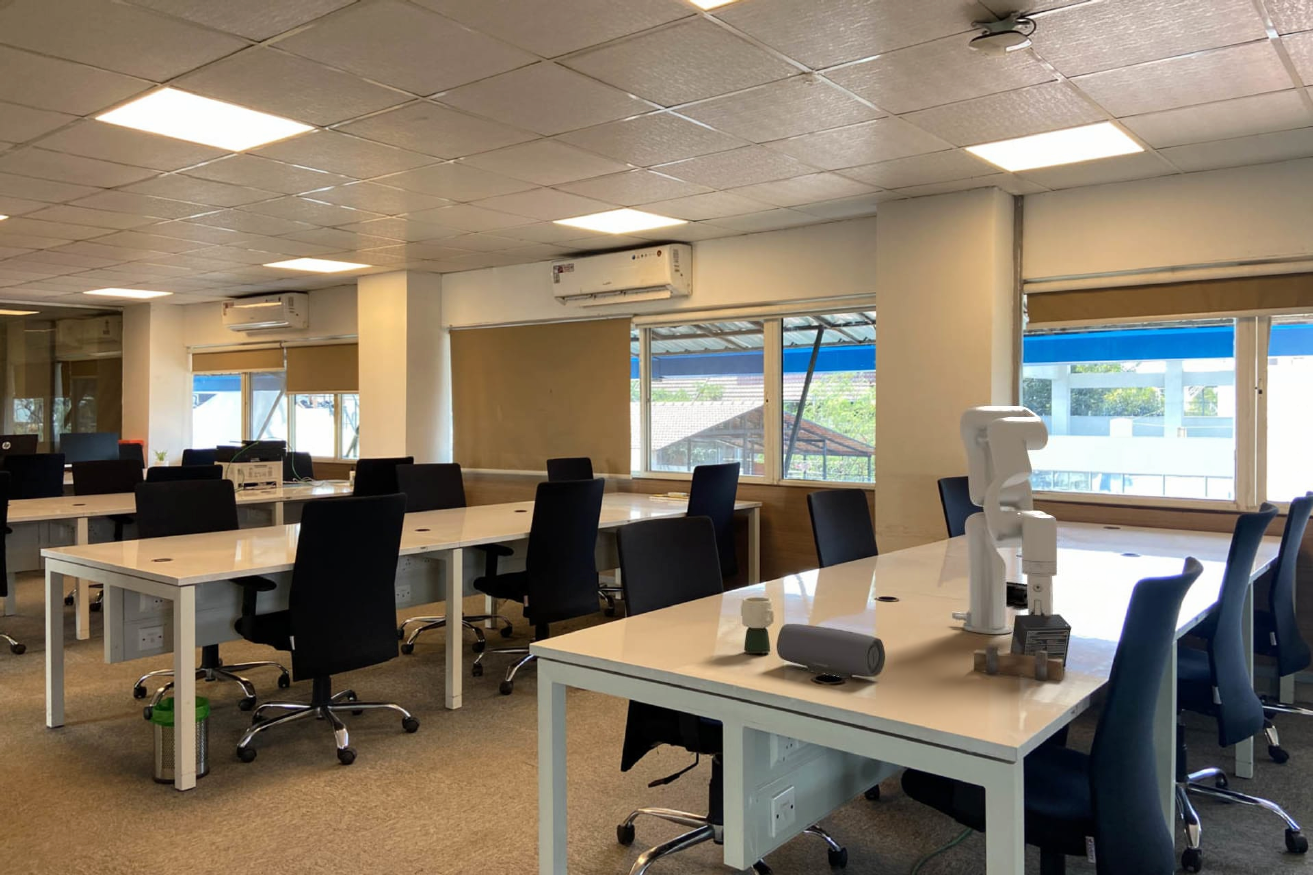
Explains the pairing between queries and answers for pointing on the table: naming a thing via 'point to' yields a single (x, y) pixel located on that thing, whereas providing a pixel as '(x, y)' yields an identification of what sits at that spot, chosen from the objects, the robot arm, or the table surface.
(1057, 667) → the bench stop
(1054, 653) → the small box
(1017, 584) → the end cap
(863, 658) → the bluetooth speaker
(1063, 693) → the table surface
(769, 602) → the character mug
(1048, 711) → the table surface
